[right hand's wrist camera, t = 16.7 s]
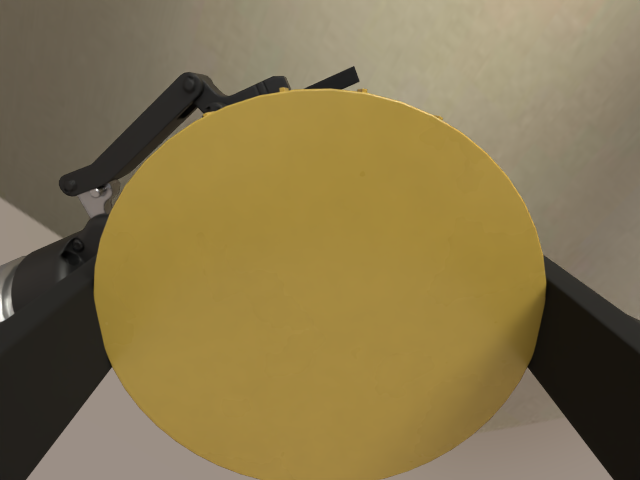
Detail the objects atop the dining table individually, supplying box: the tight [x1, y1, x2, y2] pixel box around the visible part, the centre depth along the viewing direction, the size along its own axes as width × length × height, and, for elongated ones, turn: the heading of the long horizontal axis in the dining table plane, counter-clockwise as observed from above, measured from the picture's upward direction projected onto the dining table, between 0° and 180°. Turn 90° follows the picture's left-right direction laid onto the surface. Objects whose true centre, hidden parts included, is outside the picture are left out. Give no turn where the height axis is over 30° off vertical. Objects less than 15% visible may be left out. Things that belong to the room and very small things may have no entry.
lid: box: [94, 87, 546, 480], centre depth 11 cm, size 12×12×2 cm
